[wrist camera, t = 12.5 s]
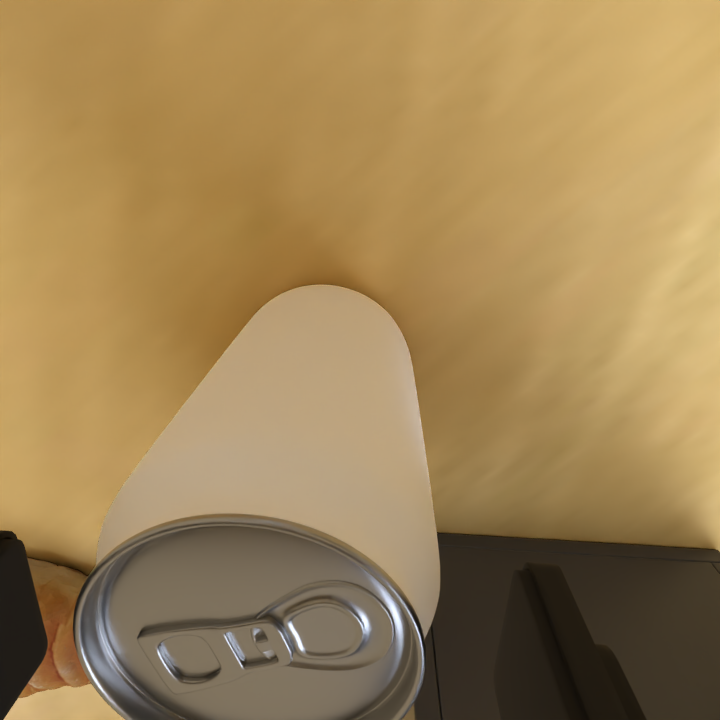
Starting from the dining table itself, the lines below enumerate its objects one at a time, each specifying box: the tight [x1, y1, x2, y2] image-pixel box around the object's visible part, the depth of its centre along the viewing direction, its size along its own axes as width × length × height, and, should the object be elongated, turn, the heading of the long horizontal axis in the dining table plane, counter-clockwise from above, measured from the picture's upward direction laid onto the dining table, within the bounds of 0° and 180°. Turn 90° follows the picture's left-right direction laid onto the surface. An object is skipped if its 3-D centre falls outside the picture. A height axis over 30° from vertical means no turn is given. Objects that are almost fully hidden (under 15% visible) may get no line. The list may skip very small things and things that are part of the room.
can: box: [73, 285, 440, 720], centre depth 13 cm, size 6×6×12 cm
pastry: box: [18, 558, 91, 698], centre depth 23 cm, size 9×7×4 cm
